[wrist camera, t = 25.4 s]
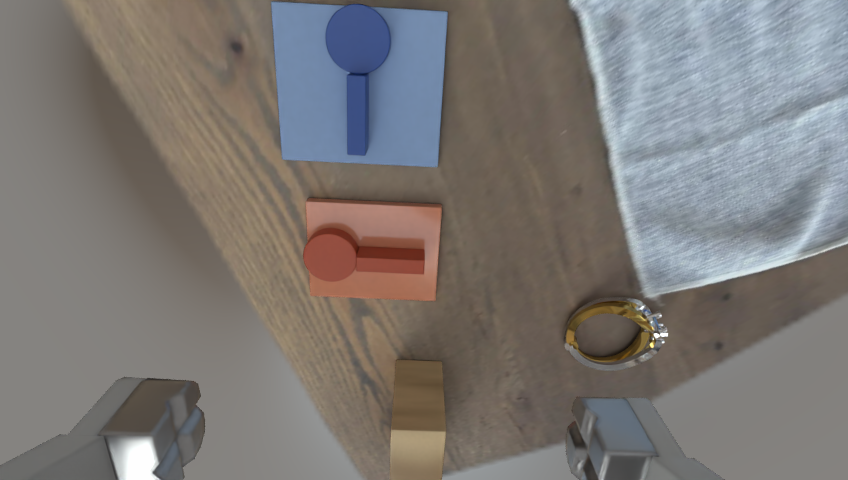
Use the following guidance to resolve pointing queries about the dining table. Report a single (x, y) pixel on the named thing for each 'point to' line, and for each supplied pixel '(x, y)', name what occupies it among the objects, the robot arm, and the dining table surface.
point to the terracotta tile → (380, 245)
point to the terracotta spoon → (356, 257)
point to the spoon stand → (418, 421)
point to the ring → (632, 353)
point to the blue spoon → (358, 63)
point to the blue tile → (388, 88)
